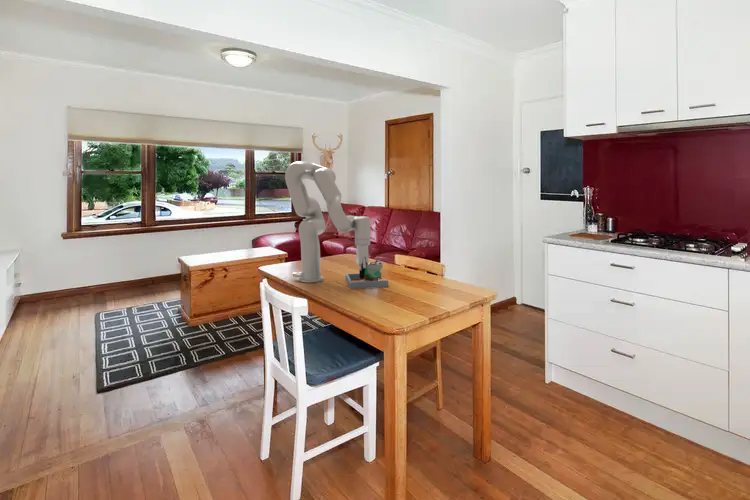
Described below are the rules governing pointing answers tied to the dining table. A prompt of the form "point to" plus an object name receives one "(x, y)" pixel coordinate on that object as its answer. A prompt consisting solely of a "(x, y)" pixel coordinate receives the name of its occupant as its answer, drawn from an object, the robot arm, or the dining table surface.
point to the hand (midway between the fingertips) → (362, 278)
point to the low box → (364, 282)
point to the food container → (373, 271)
